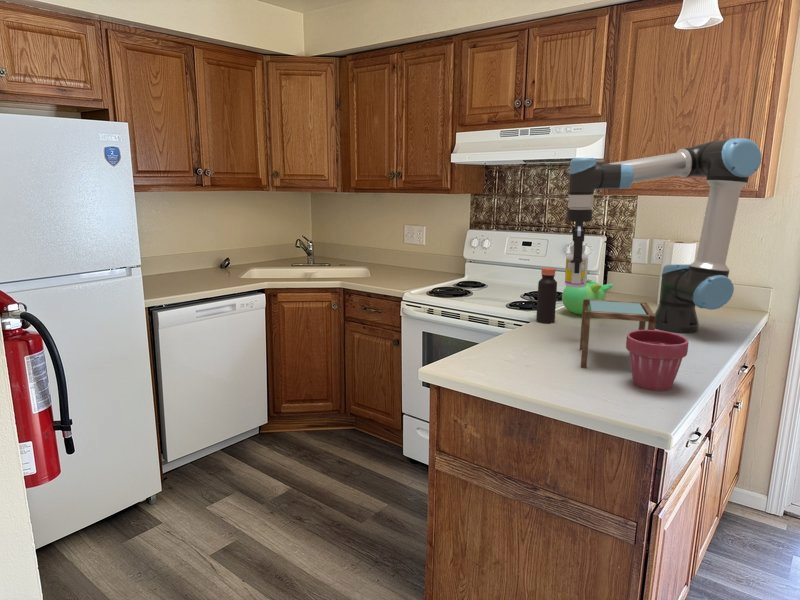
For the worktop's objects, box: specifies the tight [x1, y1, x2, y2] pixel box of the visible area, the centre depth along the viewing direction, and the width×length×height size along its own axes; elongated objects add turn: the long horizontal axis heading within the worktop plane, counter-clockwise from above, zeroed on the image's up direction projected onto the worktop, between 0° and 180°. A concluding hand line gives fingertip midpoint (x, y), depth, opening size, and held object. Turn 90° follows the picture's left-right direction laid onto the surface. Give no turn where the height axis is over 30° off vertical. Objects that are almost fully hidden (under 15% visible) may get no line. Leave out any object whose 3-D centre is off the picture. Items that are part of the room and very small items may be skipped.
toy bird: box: [561, 279, 614, 316], centre depth 217 cm, size 18×17×15 cm
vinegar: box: [535, 267, 558, 324], centre depth 204 cm, size 7×7×20 cm
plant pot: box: [625, 329, 689, 392], centre depth 140 cm, size 14×14×13 cm
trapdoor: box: [590, 300, 647, 315], centre depth 157 cm, size 14×15×1 cm
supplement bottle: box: [564, 245, 589, 287], centre depth 175 cm, size 7×7×13 cm
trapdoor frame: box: [579, 299, 656, 369], centre depth 159 cm, size 18×19×16 cm
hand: (575, 281), depth 176 cm, fingers closed on supplement bottle, 7 cm apart
